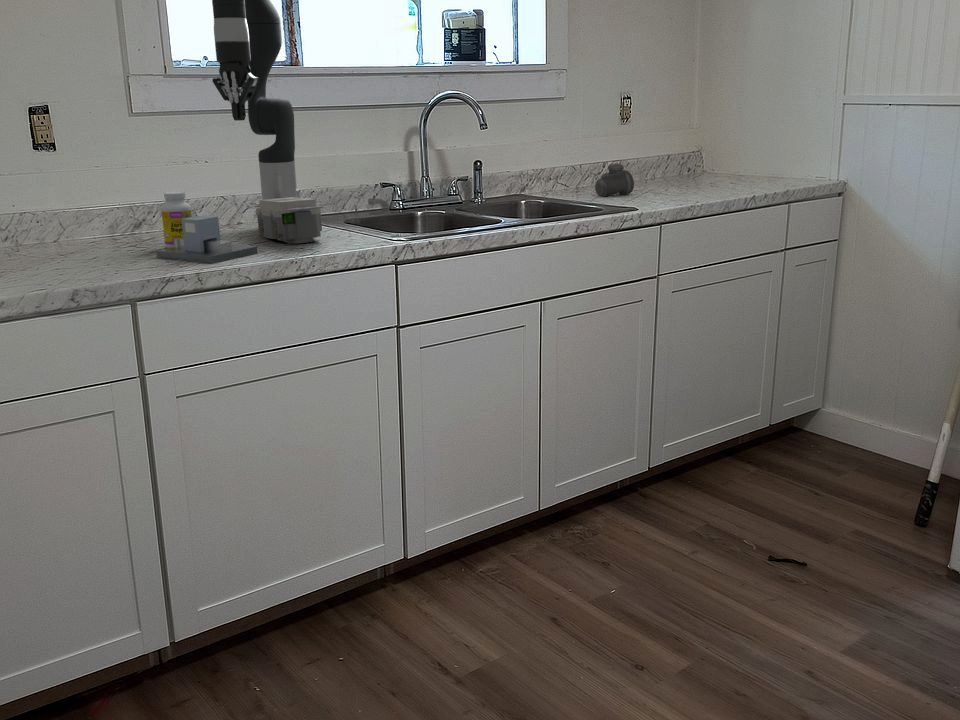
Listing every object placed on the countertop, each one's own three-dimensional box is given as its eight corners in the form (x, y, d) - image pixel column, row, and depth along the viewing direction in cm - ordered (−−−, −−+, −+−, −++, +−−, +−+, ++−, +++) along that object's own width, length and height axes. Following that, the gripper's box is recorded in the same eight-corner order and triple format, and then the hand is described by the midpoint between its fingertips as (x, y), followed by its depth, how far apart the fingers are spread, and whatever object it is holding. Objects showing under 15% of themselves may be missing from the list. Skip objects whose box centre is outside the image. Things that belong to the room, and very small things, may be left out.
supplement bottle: (169, 250, 214) (163, 194, 210) (162, 246, 219) (155, 192, 216) (198, 247, 218) (192, 192, 214) (190, 243, 223) (184, 190, 219)
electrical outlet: (286, 247, 213) (281, 203, 210) (251, 239, 237) (246, 199, 235) (334, 241, 218) (330, 199, 216) (294, 234, 242) (290, 196, 240)
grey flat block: (204, 247, 217) (202, 232, 216) (257, 253, 209) (256, 237, 208) (156, 257, 206) (155, 241, 205) (211, 263, 197) (209, 247, 196)
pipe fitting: (619, 191, 309) (619, 161, 305) (635, 195, 303) (635, 164, 299) (591, 198, 304) (590, 167, 300) (606, 202, 298) (605, 171, 293)
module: (205, 246, 210) (202, 215, 208) (221, 247, 207) (218, 216, 205) (184, 250, 205) (181, 218, 203) (200, 252, 202) (197, 220, 200)
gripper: (265, 39, 205) (272, 119, 210) (223, 41, 212) (230, 119, 217) (241, 38, 199) (248, 121, 204) (198, 41, 206) (206, 121, 211)
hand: (239, 120), depth 211 cm, fingers closed
